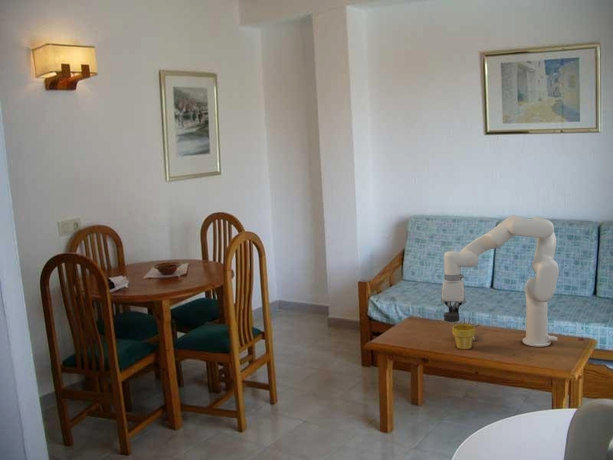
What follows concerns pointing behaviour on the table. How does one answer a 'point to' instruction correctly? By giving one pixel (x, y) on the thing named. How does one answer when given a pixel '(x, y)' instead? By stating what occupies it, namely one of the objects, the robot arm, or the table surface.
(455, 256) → the robot arm
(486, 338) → the table surface
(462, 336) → the flower pot
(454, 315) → the ladle
